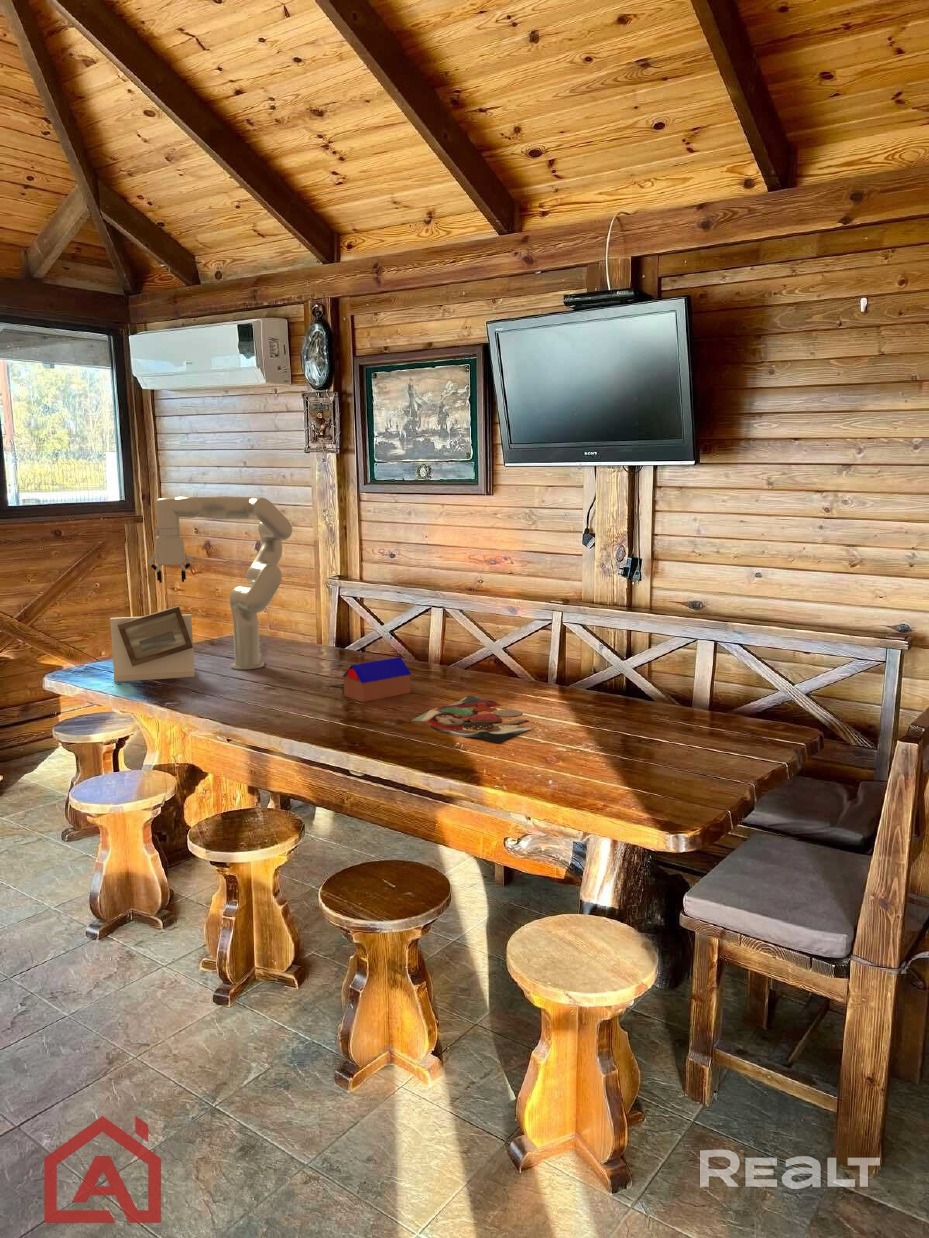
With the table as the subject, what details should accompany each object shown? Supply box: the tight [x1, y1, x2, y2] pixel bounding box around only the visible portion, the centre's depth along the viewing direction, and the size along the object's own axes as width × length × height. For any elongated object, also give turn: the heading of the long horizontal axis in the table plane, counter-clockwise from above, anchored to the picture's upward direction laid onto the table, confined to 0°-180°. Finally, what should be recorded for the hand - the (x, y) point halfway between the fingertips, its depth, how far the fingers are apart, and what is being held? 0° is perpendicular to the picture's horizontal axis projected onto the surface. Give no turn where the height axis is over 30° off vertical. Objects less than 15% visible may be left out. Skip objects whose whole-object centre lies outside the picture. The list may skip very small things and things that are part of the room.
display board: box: [109, 613, 196, 683], centre depth 336 cm, size 8×28×23 cm, turn 106°
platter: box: [411, 695, 533, 744], centre depth 278 cm, size 35×36×2 cm
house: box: [342, 656, 412, 703], centre depth 310 cm, size 12×20×12 cm, turn 130°
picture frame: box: [117, 605, 194, 667], centre depth 331 cm, size 2×22×16 cm, turn 106°
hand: (171, 581), depth 330 cm, fingers open, 7 cm apart
